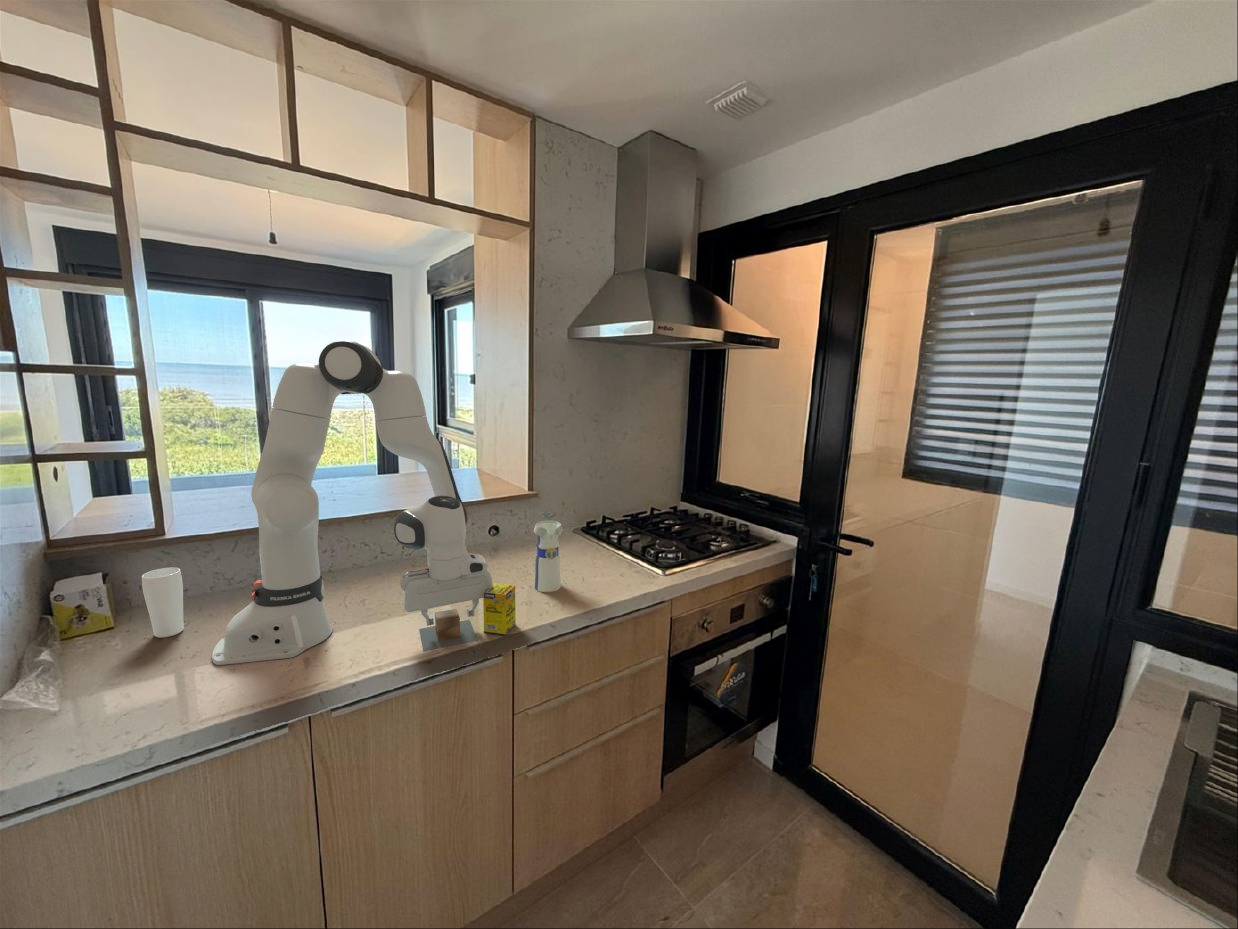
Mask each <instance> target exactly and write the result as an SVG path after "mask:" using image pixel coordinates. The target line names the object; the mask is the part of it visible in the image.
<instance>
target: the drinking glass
mask: <svg viewBox="0 0 1238 929" xmlns="http://www.w3.org/2000/svg"><path fill="white" fill-rule="evenodd" d="M141 587H142V592H143V596H144V601H145V605H146V608H147V611H148V615H149V619H150V623H151V626H152V633H153V635H154V637H156V638H161V639H162V638H163V639H164V638H169V637H173V636H176V635H178V634H180V633H182V631H183V632H184V630H185V622H184V584H183V577H182V572H181V568H179V567H173V566H172V567H163V568H157V569H153V570H150V571H148V572H145V573H143V574H142V575H141Z"/></svg>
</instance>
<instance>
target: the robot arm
mask: <svg viewBox="0 0 1238 929" xmlns="http://www.w3.org/2000/svg"><path fill="white" fill-rule="evenodd" d="M420 389H421V388H420V386H419V384H418V381H417V380H416V377H414V376H413V375H412V374H411V373H409V372H407V371H406V372H405V371H402V370H388V369H385V368H384V366H383V363H382V361H381V359H380V358H379V357H378V356H377V354H375V353H374V351H372V350H371V349H370V348H369V347H367V346H365V345H363V344H360V343H358V342H356V341H353V340H349V339H348V340H347V339H340V340H335V341H332V342H330V343H329V344H327V345H326V346H325V347H324V348H322V350H321V352H320V354H319V357H318V364H313V363H310V362H309V363H308V362H298V363H293V364H291V365H289V366H288V367H287V368H286V369H285V370H284V372H283V374H282V377H281V378H280V380H279V383H278V386H277V388H276V392H275V394H274V398H273V402H272V406H271V407H272V408H271V412H270V416H269V422H268V426H267V432H266V437H265V441H264V445H263V448H262V452H261V455H260V459H259V462H258V465H257V468H256V472H255V477H254V480H253V483H252V484H253V485H252V487H251V491H250V492H251V493H250V494H251V495H250V496H251V501H252V503H253V505H254V507H255V510H256V513H257V522H258V541H259V542H258V545H259V548H258V554H259V563H260V573H261V579H258V580H256V581H255V582H254V583H253V586H252V590H251V599H252V602H250V603H249V604H248V605H247V606H245V607H244V608H243V609H242V610H241V611H239V612H238V613H236V614H235V615H234V616H233V617H232V618H231V620H229V622H228V624H227V626H226V628H225V632H224V637H222V638H221V639H220V640H219V641H218V642H217V644H216V645H215V646H214V648H213V651H212V654H211V661H212V662H213V664H215V665H217V666H221V665H232V664H240V663H241V664H242V663H252V662H261V661H270V660H280V659H289V658H293V657H294V658H295V657H296V656H298V655H300V654H301V653H303V652H304V651H306V650H308V649H310V648H312V647H314V646H316V645H318V644H321V643H322V642H324V641H325V640H326V639H328V638H329V637H330V636H331V634H332V632H333V627H332V625H331V623H330V621H329V617H328V615H327V612H326V607H325V603H324V598H325V587H324V586H325V585H324V580H323V575H322V574H321V572H320V571H321V570H320V558H319V549H318V548H319V547H318V545H319V544H318V542H319V541H318V540H319V539H318V538H319V525H320V524H319V523H320V522H319V520H320V518H319V517H320V511H319V510H320V508H319V506H320V502H319V496H318V493H317V492H316V490H315V488H314V487H313V486H312V483H313V479H314V475H315V473H316V470H317V467H318V464H319V462H320V459H321V457H322V456H323V453H324V452H325V446H326V441H327V440H326V439H327V436H328V430H329V425H330V421H331V419H330V418H331V417H332V411H333V406H334V403H335V401H336V399H337V397H338V396H339V395H352V394H353V395H355V394H357V395H358V394H364V395H365V396H367V397H368V399H369V400H370V402H371V404H372V408H373V413H374V418H375V425H376V430H377V434H378V439H379V440H380V443H381V445H382V446H383V447H384V448H385V450H387V451H388V452H390V453H392V454H393V455H396V456H398V457H400V458H405V459H409V460H412V461H415V462H417V463H419V464H421V466H423V468H424V469H425V471H426V472H427V474H428V475H427V476H428V478H429V482H430V484H431V488H432V491H433V494H434V496H432V497H430V498H429V499H427V500H426V502H424V503H423V504H420V505H418V506H414V507H410V508H407V509H405V510H403V511H401V512H399V513H398V514H397V516H396V518H395V520H394V525H393V531H394V536H395V540H397V542H398V543H399V544H400V545H401V546H403V547H404V548H406V549H411V550H420V549H425V550H426V551H427V552H426V553H427V554H426V558H427V559H426V560H427V568H422V569H418V570H409V571H407V572H406V573H405V574H403V575H402V576H401V578H400V589H401V590H402V591H403V595H402V596H403V598H402V599H403V600H402V601H403V608H404V610H405V612H407V613H414V612H418V611H420V613H421V615H422V616H423V618H424V619H425V622H426V623H425V624H426V626H428V627H430V626H434V623H435V622H434V621H435V620H434V616H433V614H430V615H429V614H428V613H429V611H428V610H429V609H433V608H438V607H445V606H449V605H454V604H459V603H464V602H469V601H471V604H470V607H467V608H466V611H467V612H466V615H467V617H468V618H470V617H471V618H472V617H474V616H476V615H475V611H476V609H477V607H478V604H479V603H480V600H481V599H483V592H484V591H485V590H487V589H488V588H493V583H494V582H493V579H492V578H493V577H492V575H491V573H490V571H489V569H488V567H489V566H488V562H487V560H486V558H485V557H484V556H483V555H482V554H478V553H472V552H468V551H467V547H466V543H465V541H466V536H467V524H468V519H469V517H468V512H467V509H466V506H465V505H464V503H463V500H462V498H461V496H460V494H459V493H460V492H459V490H458V487H457V484H456V480H455V477H454V474H453V472H452V468H451V465H450V461H449V459H448V458H449V457H448V454H447V452H446V449H445V447H444V445H443V443H442V441H441V440H439V438H437V437H435V434H434V433H433V431H432V430H431V427H430V425H429V422H428V418H427V411H426V407H425V402H424V399H423V395H422V392H421V390H420ZM479 599H480V600H479Z"/></svg>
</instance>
